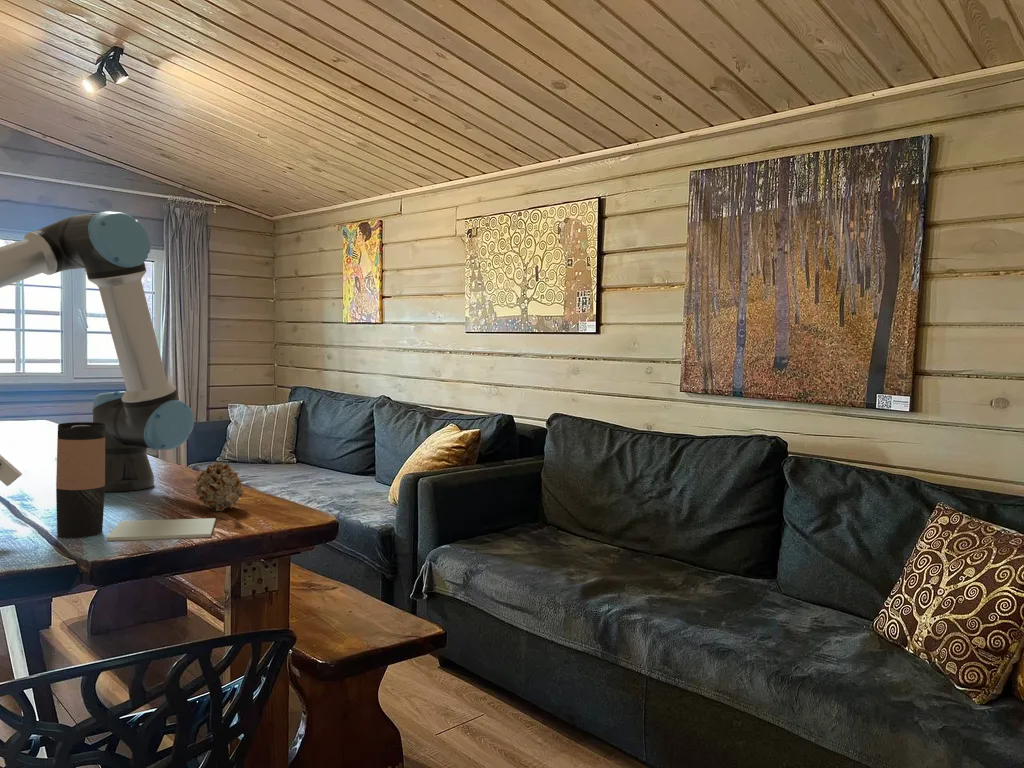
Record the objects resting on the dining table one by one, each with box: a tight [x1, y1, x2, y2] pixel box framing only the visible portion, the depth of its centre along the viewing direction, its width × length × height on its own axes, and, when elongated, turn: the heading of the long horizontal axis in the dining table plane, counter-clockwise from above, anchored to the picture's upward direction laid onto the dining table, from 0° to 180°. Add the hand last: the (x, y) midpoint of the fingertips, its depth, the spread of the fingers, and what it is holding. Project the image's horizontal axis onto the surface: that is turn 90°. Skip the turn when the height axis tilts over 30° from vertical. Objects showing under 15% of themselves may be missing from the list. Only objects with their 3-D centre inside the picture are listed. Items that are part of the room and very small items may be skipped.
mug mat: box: [106, 517, 217, 542], centre depth 138 cm, size 17×13×1 cm
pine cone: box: [192, 461, 245, 512], centre depth 155 cm, size 22×10×10 cm, turn 37°
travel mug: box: [55, 421, 106, 539], centre depth 133 cm, size 8×8×20 cm
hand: (14, 480), depth 130 cm, fingers closed
